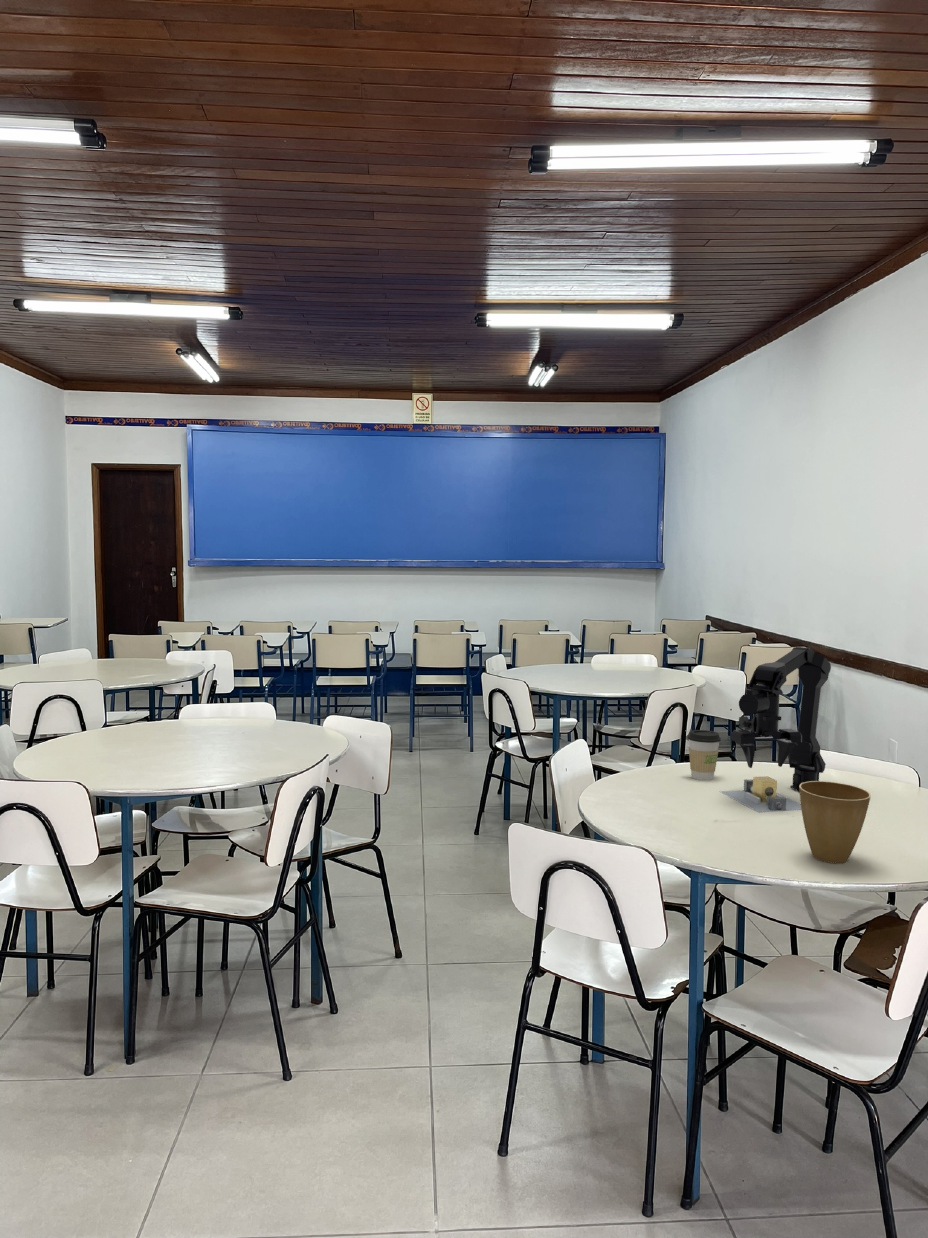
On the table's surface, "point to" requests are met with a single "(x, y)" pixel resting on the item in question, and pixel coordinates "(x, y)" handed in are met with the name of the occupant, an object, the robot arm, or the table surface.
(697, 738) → the coffee cup
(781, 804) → the shaft
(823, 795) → the plant pot
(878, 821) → the table surface
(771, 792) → the block
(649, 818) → the table surface
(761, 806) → the grey base plate
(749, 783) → the shaft
